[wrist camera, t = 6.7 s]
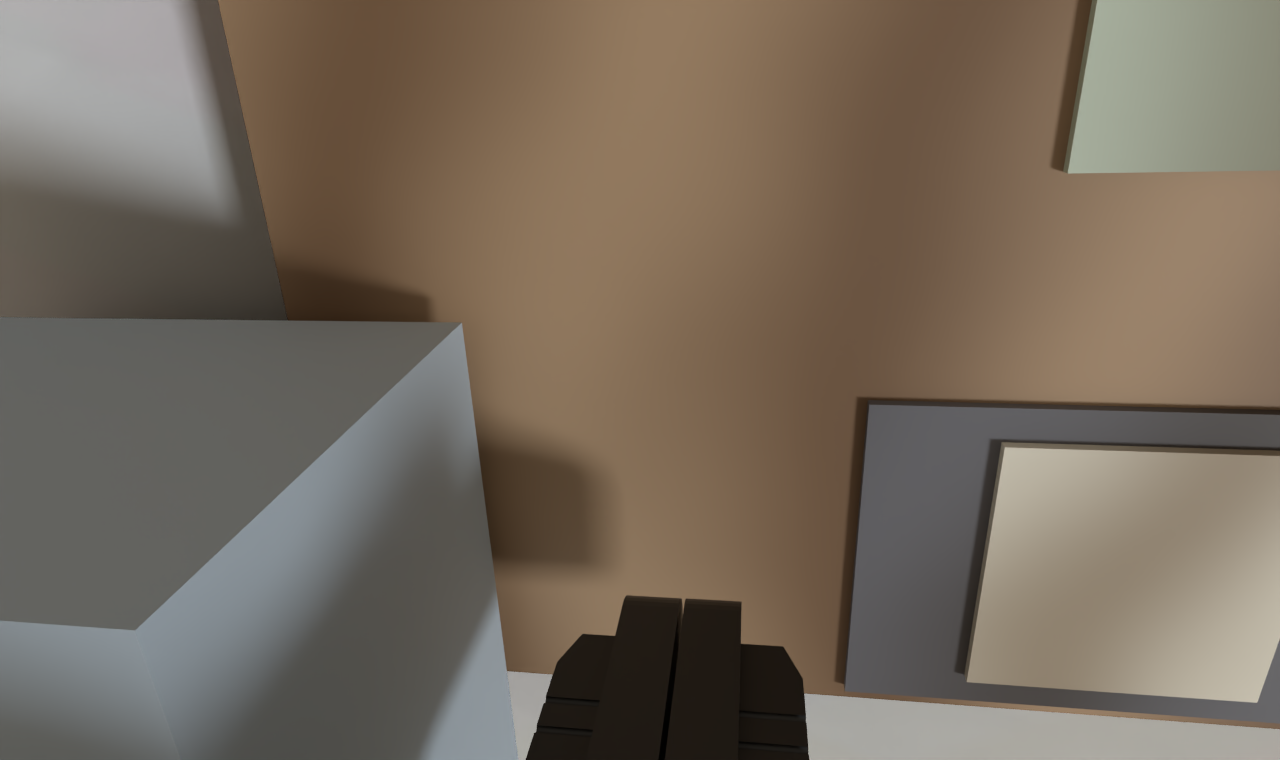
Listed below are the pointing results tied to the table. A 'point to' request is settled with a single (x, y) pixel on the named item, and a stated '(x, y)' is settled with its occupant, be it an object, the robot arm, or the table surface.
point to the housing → (244, 544)
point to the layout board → (830, 317)
